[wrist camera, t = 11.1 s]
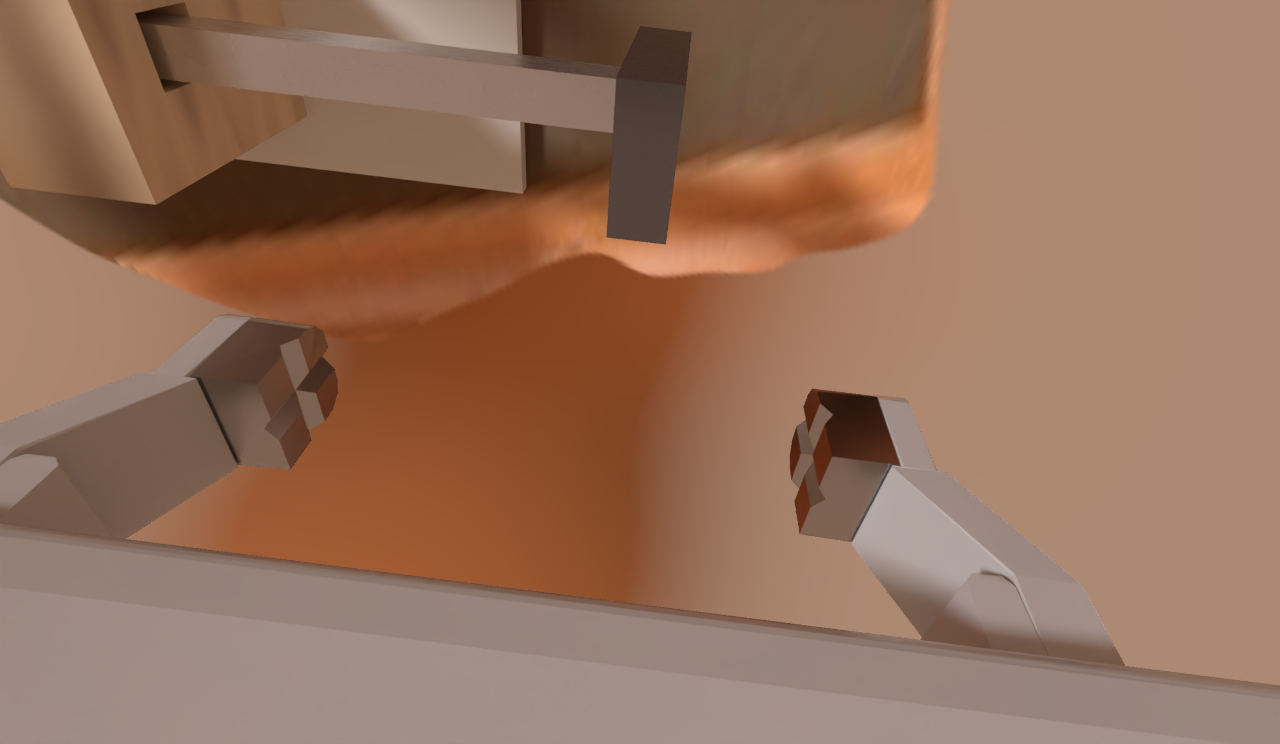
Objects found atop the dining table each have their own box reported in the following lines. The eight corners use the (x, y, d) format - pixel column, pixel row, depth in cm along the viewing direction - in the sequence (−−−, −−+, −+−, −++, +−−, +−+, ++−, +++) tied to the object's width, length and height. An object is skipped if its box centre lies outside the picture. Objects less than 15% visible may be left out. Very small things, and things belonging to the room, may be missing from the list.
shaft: (136, 95, 27) (-34, 159, 21) (82, -40, 24) (-138, -12, 18) (675, 160, 27) (665, 244, 21) (691, 32, 24) (685, 86, 17)
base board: (34, 127, 37) (19, 133, 36) (-161, -246, 27) (-187, -249, 26) (526, 187, 37) (522, 193, 36) (515, -169, 27) (510, -170, 26)
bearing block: (201, 103, 34) (10, 187, 25) (121, -127, 28) (-175, -132, 18) (307, 116, 34) (156, 204, 25) (251, -112, 28) (20, -110, 18)
